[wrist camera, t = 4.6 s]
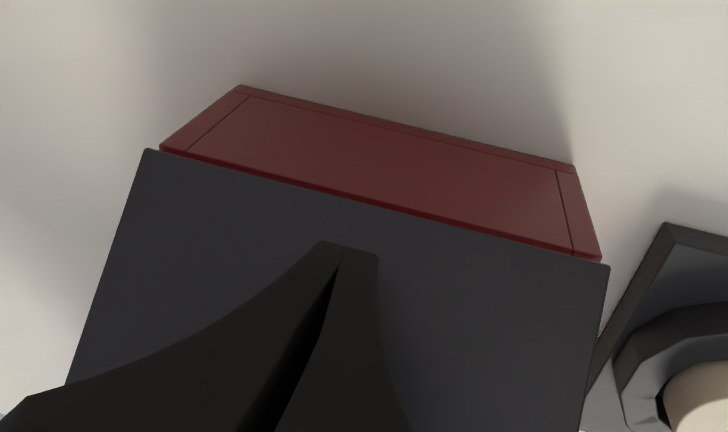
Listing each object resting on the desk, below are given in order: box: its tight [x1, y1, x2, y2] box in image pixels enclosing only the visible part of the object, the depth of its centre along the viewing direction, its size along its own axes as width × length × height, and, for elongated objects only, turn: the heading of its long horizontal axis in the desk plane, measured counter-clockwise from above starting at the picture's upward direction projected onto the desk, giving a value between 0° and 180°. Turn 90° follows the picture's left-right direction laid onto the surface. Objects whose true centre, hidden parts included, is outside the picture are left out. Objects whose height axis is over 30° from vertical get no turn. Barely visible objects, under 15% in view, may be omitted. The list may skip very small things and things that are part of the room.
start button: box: [663, 360, 728, 432], centre depth 19 cm, size 4×4×2 cm
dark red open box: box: [159, 85, 602, 263], centre depth 21 cm, size 15×13×6 cm
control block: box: [579, 223, 728, 432], centre depth 21 cm, size 10×7×3 cm
